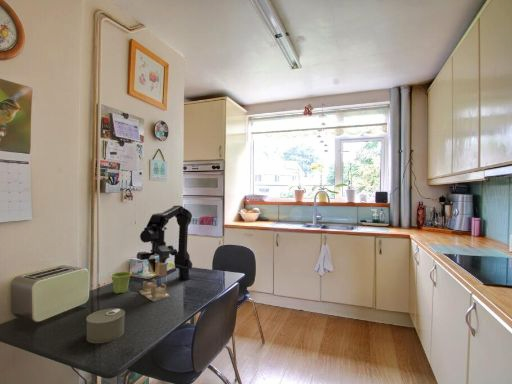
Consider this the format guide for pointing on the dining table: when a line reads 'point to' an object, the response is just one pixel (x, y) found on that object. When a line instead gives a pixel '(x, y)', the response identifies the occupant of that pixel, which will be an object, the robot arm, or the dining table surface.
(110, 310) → the can
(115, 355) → the dining table surface
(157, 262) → the orange tan rectangular block
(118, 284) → the plant pot
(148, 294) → the tan piece
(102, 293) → the dining table surface
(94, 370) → the dining table surface
